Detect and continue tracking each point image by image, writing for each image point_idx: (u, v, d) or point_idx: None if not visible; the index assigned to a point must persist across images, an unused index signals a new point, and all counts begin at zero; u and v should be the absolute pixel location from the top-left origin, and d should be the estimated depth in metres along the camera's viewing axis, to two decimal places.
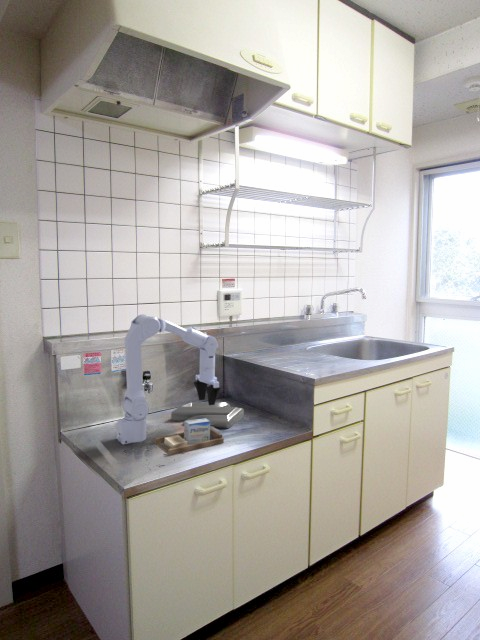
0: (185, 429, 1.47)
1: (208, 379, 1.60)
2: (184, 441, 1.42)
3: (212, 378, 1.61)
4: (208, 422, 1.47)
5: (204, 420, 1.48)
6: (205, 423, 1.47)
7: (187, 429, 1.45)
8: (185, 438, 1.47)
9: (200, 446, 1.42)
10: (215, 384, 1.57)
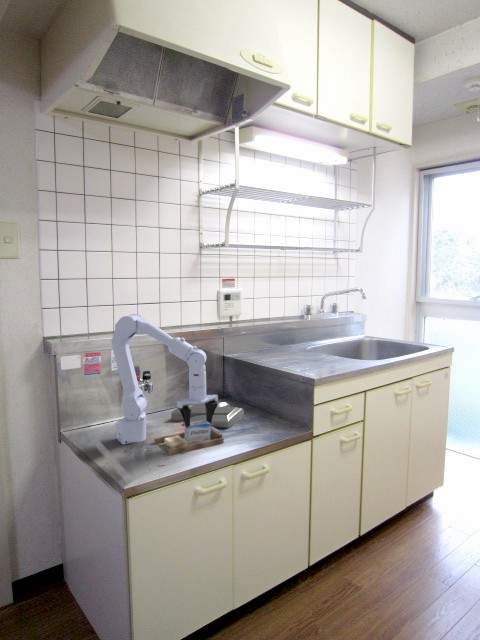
0: (185, 431, 1.47)
1: (189, 398, 1.46)
2: (184, 441, 1.43)
3: (191, 398, 1.45)
4: (208, 424, 1.47)
5: (204, 422, 1.48)
6: (205, 425, 1.47)
7: (188, 432, 1.45)
8: (185, 440, 1.47)
9: (200, 446, 1.42)
10: (177, 403, 1.43)
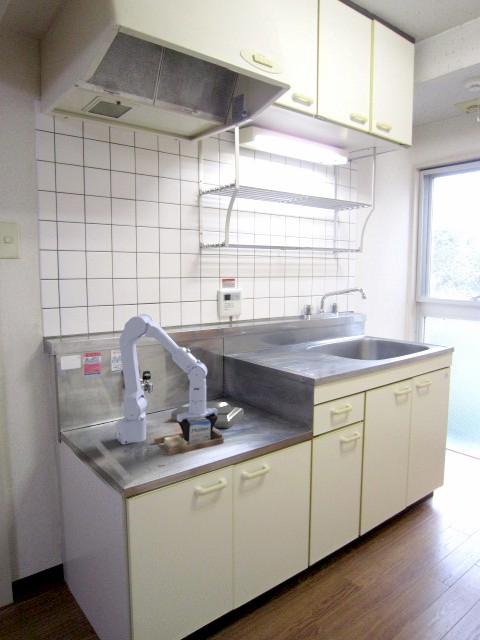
0: None
1: (189, 411, 1.46)
2: (184, 441, 1.42)
3: (191, 412, 1.45)
4: (209, 421, 1.48)
5: (204, 420, 1.48)
6: (206, 423, 1.47)
7: (189, 429, 1.45)
8: None
9: (200, 446, 1.42)
10: (177, 416, 1.44)
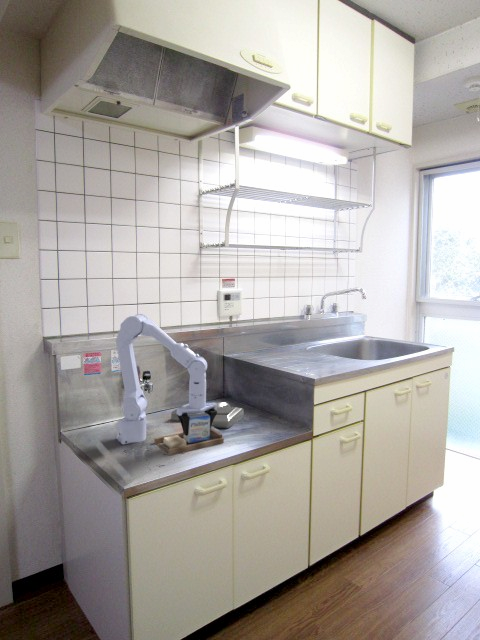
0: None
1: (188, 405, 1.46)
2: (183, 441, 1.42)
3: (191, 406, 1.45)
4: (208, 416, 1.47)
5: (204, 414, 1.48)
6: (205, 417, 1.47)
7: None
8: None
9: (200, 446, 1.42)
10: (177, 410, 1.43)
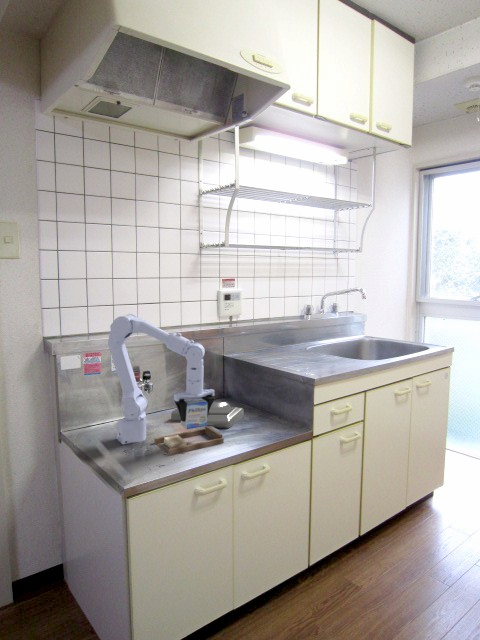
0: None
1: (186, 391, 1.46)
2: (183, 441, 1.42)
3: (188, 392, 1.44)
4: (206, 402, 1.47)
5: (201, 400, 1.47)
6: (203, 403, 1.46)
7: None
8: None
9: (200, 446, 1.42)
10: (174, 396, 1.43)
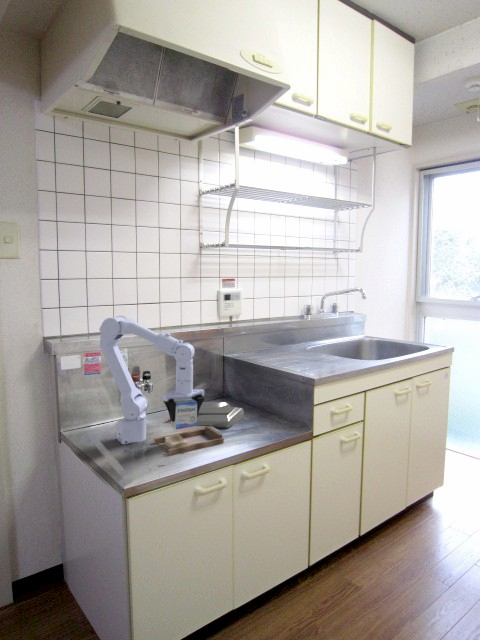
0: None
1: (175, 391, 1.45)
2: (184, 441, 1.42)
3: (178, 392, 1.44)
4: (195, 402, 1.46)
5: (191, 400, 1.47)
6: (192, 403, 1.46)
7: (175, 410, 1.43)
8: None
9: (200, 446, 1.42)
10: (163, 396, 1.42)
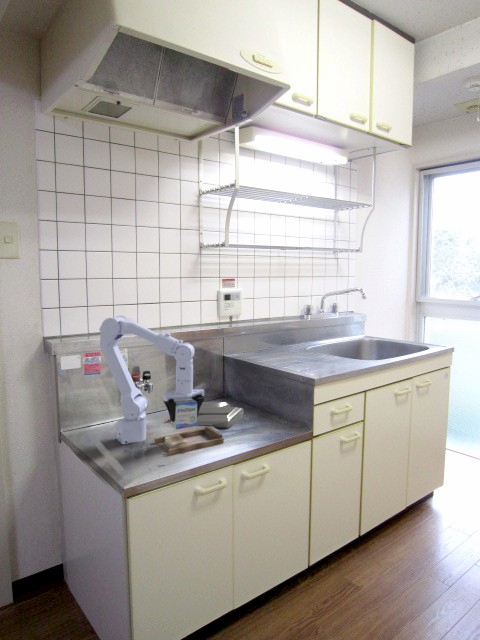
0: None
1: (175, 391, 1.45)
2: (184, 440, 1.43)
3: (178, 392, 1.44)
4: (195, 402, 1.46)
5: (191, 400, 1.47)
6: (192, 403, 1.46)
7: (175, 410, 1.43)
8: None
9: (200, 446, 1.42)
10: (163, 396, 1.42)
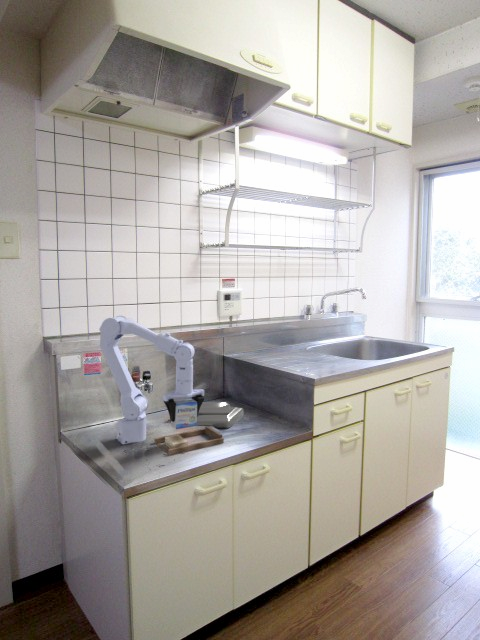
0: None
1: (175, 391, 1.45)
2: (184, 441, 1.42)
3: (178, 392, 1.44)
4: (195, 402, 1.46)
5: (191, 400, 1.47)
6: (192, 403, 1.46)
7: (175, 410, 1.43)
8: None
9: (200, 446, 1.42)
10: (163, 396, 1.42)
